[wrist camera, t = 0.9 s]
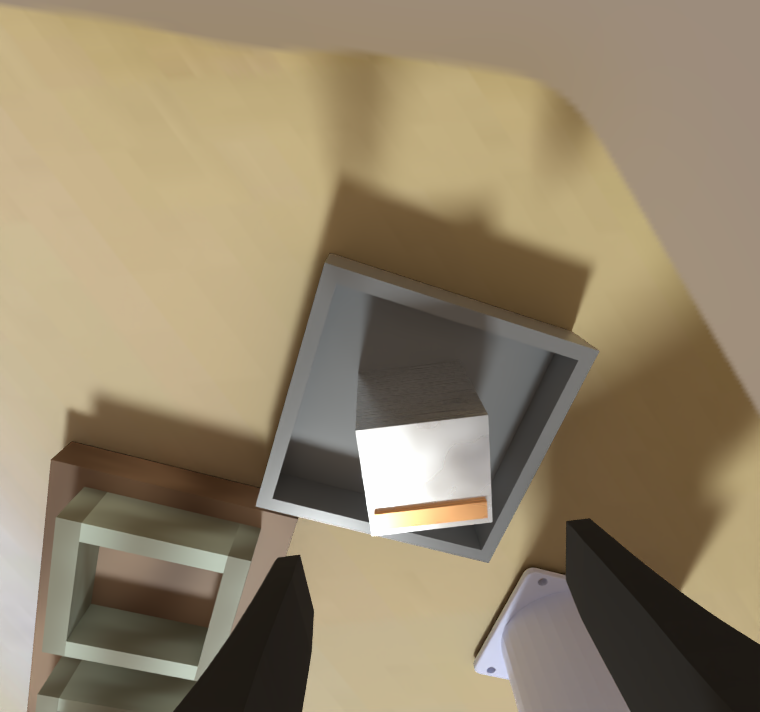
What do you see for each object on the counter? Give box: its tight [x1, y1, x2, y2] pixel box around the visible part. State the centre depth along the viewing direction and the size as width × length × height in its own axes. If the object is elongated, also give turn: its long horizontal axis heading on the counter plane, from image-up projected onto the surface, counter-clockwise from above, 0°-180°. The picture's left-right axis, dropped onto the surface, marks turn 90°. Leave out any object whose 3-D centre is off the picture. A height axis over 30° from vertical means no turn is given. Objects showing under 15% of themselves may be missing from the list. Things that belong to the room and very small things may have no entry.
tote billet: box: [355, 360, 493, 536], centre depth 18 cm, size 4×4×5 cm
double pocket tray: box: [27, 442, 298, 712], centre depth 24 cm, size 11×21×4 cm, turn 162°
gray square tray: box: [256, 253, 599, 563], centre depth 20 cm, size 11×11×2 cm
